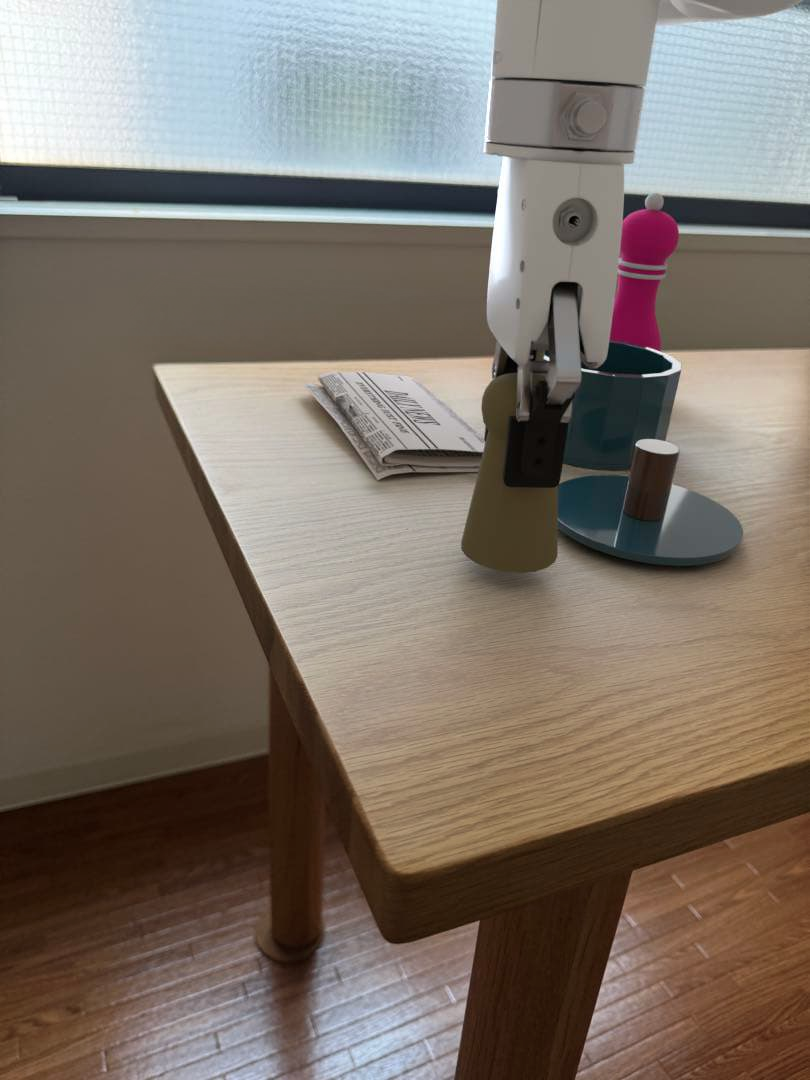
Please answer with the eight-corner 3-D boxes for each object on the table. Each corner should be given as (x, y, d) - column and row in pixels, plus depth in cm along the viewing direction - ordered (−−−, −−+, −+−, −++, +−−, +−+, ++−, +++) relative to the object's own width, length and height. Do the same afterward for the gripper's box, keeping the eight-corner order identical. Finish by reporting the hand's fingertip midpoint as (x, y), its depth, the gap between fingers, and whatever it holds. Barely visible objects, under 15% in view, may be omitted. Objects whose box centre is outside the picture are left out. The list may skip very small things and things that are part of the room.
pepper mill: (593, 376, 97) (627, 187, 87) (657, 389, 94) (699, 195, 85) (576, 391, 91) (611, 190, 82) (643, 405, 88) (687, 198, 79)
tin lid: (693, 491, 68) (712, 417, 65) (774, 576, 56) (801, 489, 53) (526, 486, 66) (537, 409, 64) (572, 571, 54) (588, 482, 52)
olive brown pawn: (504, 519, 57) (524, 357, 52) (577, 553, 53) (605, 382, 48) (440, 544, 53) (455, 372, 48) (513, 583, 49) (537, 401, 44)
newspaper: (298, 391, 84) (301, 366, 83) (414, 400, 88) (418, 376, 87) (360, 479, 64) (365, 448, 63) (504, 485, 69) (511, 456, 68)
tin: (634, 423, 83) (651, 341, 79) (683, 473, 71) (705, 380, 68) (507, 417, 81) (518, 333, 78) (537, 467, 70) (551, 372, 66)
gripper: (701, 138, 35) (625, 530, 43) (587, 125, 50) (547, 418, 59) (523, 128, 34) (480, 529, 43) (462, 118, 49) (439, 415, 58)
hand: (519, 461), depth 51 cm, fingers closed on olive brown pawn, 5 cm apart
